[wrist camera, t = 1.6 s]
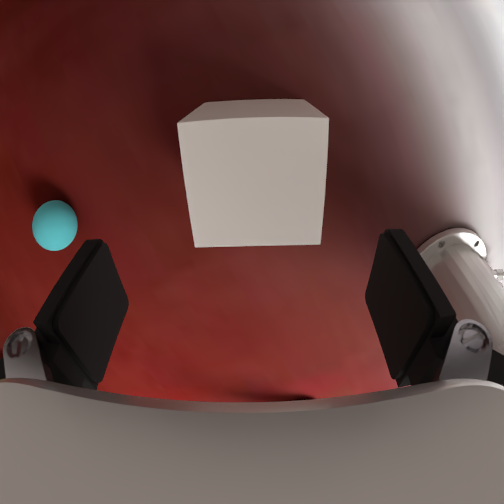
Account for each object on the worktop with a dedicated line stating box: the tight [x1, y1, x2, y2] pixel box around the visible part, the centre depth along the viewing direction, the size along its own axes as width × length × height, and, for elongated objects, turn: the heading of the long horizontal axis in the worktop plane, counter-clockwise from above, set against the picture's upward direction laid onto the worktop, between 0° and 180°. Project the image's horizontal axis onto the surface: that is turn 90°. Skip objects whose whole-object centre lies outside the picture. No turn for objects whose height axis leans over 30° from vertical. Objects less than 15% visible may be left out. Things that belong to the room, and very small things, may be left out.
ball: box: [32, 200, 77, 251], centre depth 25 cm, size 5×5×5 cm
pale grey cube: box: [177, 99, 329, 247], centre depth 20 cm, size 8×8×9 cm
